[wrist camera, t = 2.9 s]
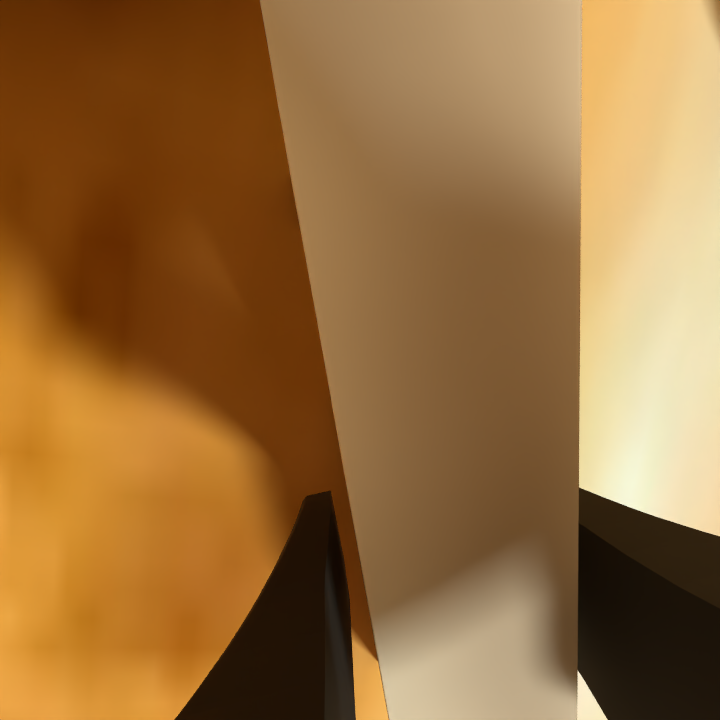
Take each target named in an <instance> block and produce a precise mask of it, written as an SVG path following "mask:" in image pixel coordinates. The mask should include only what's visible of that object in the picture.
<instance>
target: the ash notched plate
mask: <svg viewBox="0 0 720 720" xmlns="http://www.w3.org/2000/svg"><path fill="white" fill-rule="evenodd" d="M260 4H261V10H262V16H263V21H264V27H265V33H266V39H267V44H268V50H269V56H270V62H271V67H272V73H273V79H274V85H275V90H276V96H277V102H278V108H279V114H280V119H281V125H282V131H283V137H284V142H285V148H286V154H287V160H288V165H289V171H290V177H291V182H292V188H293V193H294V199H295V204H296V210H297V216H298V221H299V227H300V230H301V236H302V241H303V247H304V252H305V258H306V263H307V269H308V274H309V280H310V285H311V291H312V296H313V302H314V308H315V313H316V319H317V324H318V330H319V335H320V341H321V346H322V352H323V357H324V363H325V368H326V374H327V379H328V385H329V391H330V398H331V403H332V409H333V414H334V420H335V426H336V431H337V437H338V442H339V448H340V453H341V459H342V464H343V470H344V475H345V481H346V486H347V492H348V497H349V503H350V508H351V514H352V519H353V525H354V531H355V536H356V542H357V547H358V553H359V558H360V564H361V569H362V575H363V580H364V586H365V591H366V597H367V602H368V608H369V613H370V619H371V624H372V630H373V636H374V641H375V647H376V652H377V658H378V663H379V669H380V674H381V680H382V685H383V691H384V696H385V701H386V707H387V712H388V718H389V720H577V665H578V521H579V376H580V231H581V86H582V0H260Z"/></svg>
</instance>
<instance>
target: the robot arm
mask: <svg viewBox="0 0 720 720" xmlns="http://www.w3.org/2000/svg"><path fill="white" fill-rule="evenodd" d="M577 670H578V671H579V673H580V674H581V676H582V677H583V679H584V680H585V682H586V684H587V685H588V687H589V689H590V691H591V692H592V694H593V696H594V697H595V699H596V701H597V702H598V704H599V706H600V707H601V709H602V711H603V713H604V714H605V716H606V718H607V719H608V720H720V536H716V535H713V534H709V533H706V532H702V531H699V530H696V529H693V528H690V527H686V526H683V525H680V524H677V523H674V522H671V521H667V520H664V519H661V518H658V517H655V516H652V515H649V514H646V513H643V512H641V511H638V510H635V509H632V508H630V507H627V506H624V505H622V504H619V503H617V502H614V501H611V500H609V499H606V498H603V497H601V496H598V495H596V494H593V493H591V492H589V491H586V490H584V489H581V488H579V521H578V665H577ZM175 720H356V717H355V699H354V678H353V657H352V637H351V617H350V599H349V592H348V585H347V578H346V571H345V564H344V557H343V552H342V547H341V542H340V537H339V532H338V526H337V521H336V516H335V511H334V506H333V501H332V496H331V491H327V492H323V493H318V494H313V495H309V496H306V497H305V499H304V500H303V502H302V505H301V508H300V511H299V514H298V517H297V519H296V522H295V524H294V526H293V529H292V531H291V534H290V536H289V538H288V540H287V542H286V544H285V547H284V549H283V551H282V553H281V555H280V557H279V559H278V561H277V563H276V565H275V567H274V569H273V571H272V573H271V575H270V577H269V578H268V580H267V582H266V584H265V586H264V588H263V589H262V591H261V593H260V595H259V597H258V599H257V600H256V602H255V604H254V605H253V607H252V609H251V610H250V612H249V614H248V615H247V617H246V619H245V620H244V622H243V624H242V625H241V627H240V628H239V630H238V631H237V633H236V634H235V636H234V638H233V639H232V641H231V642H230V644H229V645H228V647H227V648H226V650H225V651H224V653H223V654H222V655H221V657H220V658H219V660H218V661H217V663H216V664H215V665H214V667H213V668H212V670H211V671H210V672H209V674H208V675H207V677H206V678H205V680H204V681H203V682H202V684H201V685H200V687H199V688H198V689H197V691H196V692H195V693H194V695H193V696H192V697H191V699H190V700H189V701H188V703H187V704H186V705H185V707H184V708H183V709H182V711H181V712H180V713H179V715H178V716H177V717H176V718H175Z"/></svg>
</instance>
